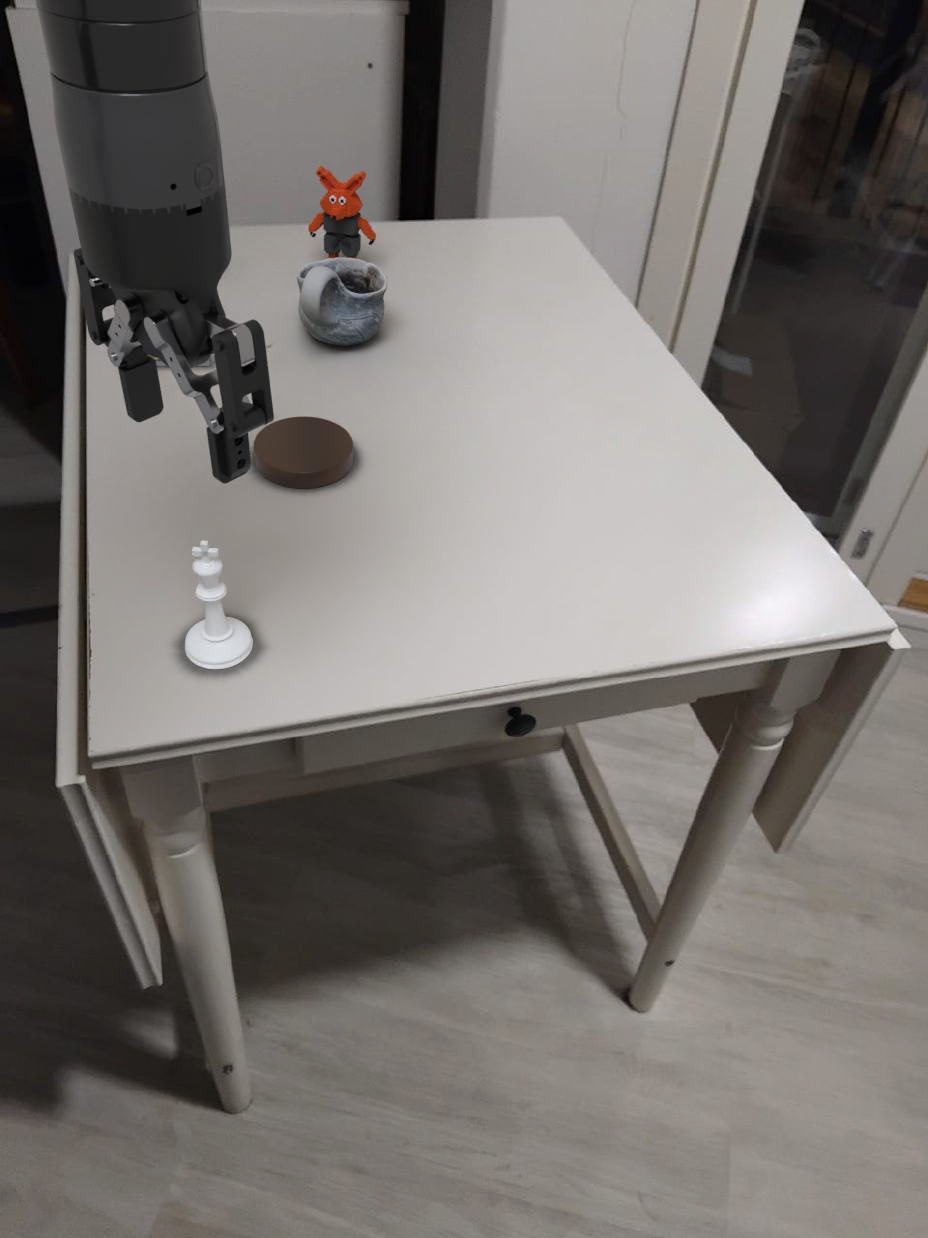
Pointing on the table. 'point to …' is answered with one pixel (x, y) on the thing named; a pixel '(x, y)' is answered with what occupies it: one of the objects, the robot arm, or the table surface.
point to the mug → (341, 300)
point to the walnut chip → (303, 452)
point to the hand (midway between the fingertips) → (188, 445)
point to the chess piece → (215, 618)
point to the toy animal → (341, 215)
